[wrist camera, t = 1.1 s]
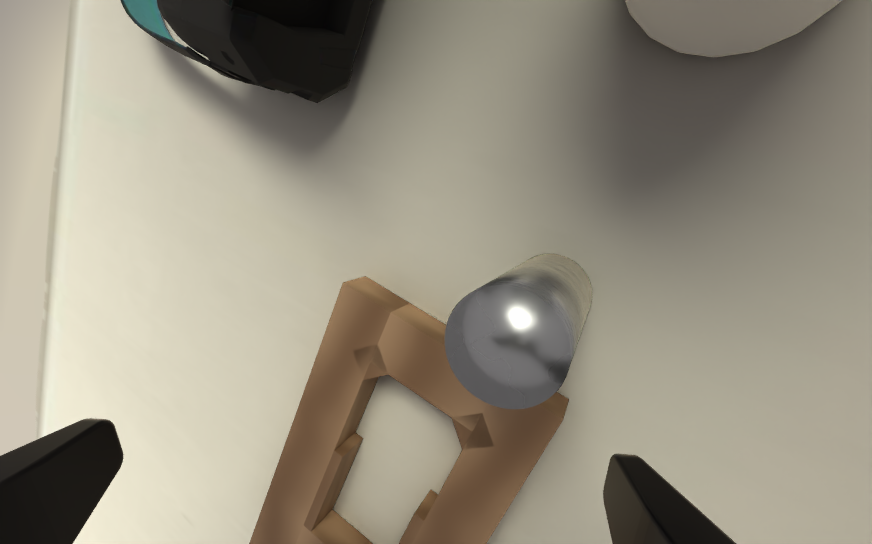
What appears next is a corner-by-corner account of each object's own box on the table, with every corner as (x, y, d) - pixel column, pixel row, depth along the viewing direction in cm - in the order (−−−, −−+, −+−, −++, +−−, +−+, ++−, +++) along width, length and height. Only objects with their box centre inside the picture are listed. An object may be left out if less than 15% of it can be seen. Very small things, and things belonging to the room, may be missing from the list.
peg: (608, 277, 18) (596, 327, 11) (567, 346, 19) (532, 433, 12) (532, 239, 19) (474, 262, 12) (498, 307, 20) (426, 365, 13)
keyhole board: (569, 399, 19) (563, 419, 18) (412, 654, 26) (395, 688, 24) (365, 276, 23) (343, 282, 21) (271, 526, 29) (247, 547, 27)
